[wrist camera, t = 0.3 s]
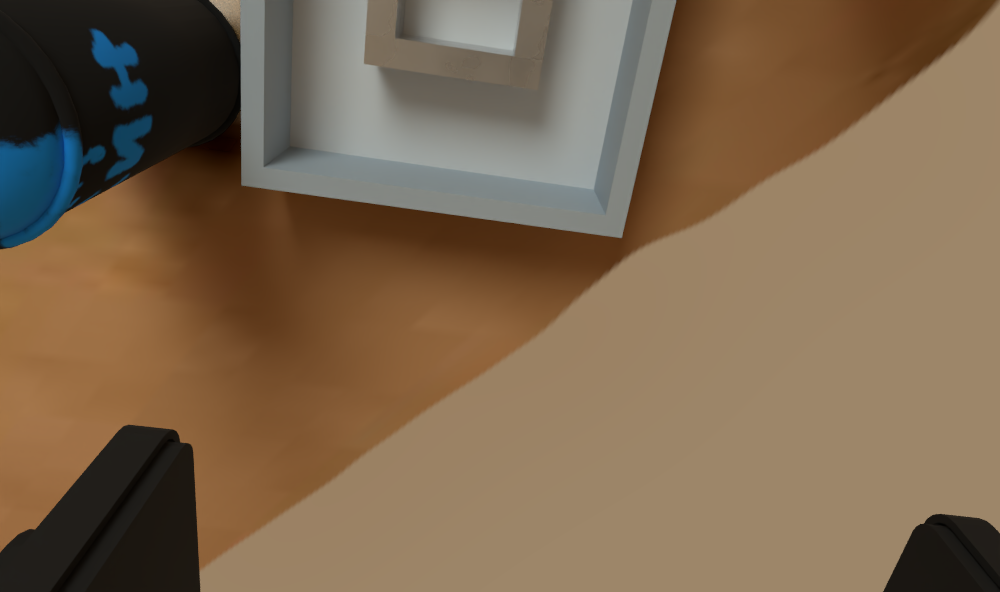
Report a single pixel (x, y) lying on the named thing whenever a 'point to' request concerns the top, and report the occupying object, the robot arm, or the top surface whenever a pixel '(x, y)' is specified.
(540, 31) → the inlet
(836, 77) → the top surface
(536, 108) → the walled box
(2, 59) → the aerosol can
